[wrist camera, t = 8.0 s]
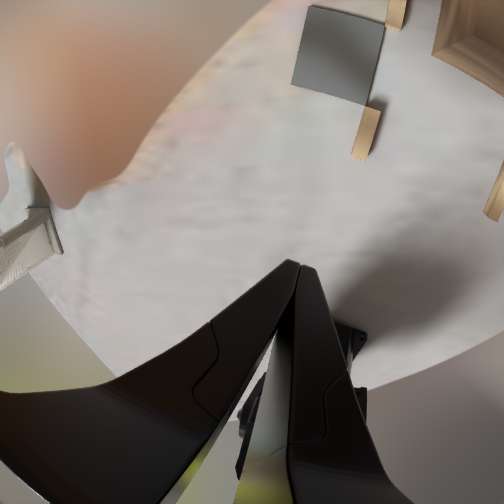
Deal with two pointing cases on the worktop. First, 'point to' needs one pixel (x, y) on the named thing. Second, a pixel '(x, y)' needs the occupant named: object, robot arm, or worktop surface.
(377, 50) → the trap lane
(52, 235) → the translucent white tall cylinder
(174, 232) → the worktop surface
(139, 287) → the worktop surface
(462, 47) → the walnut block
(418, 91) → the worktop surface
